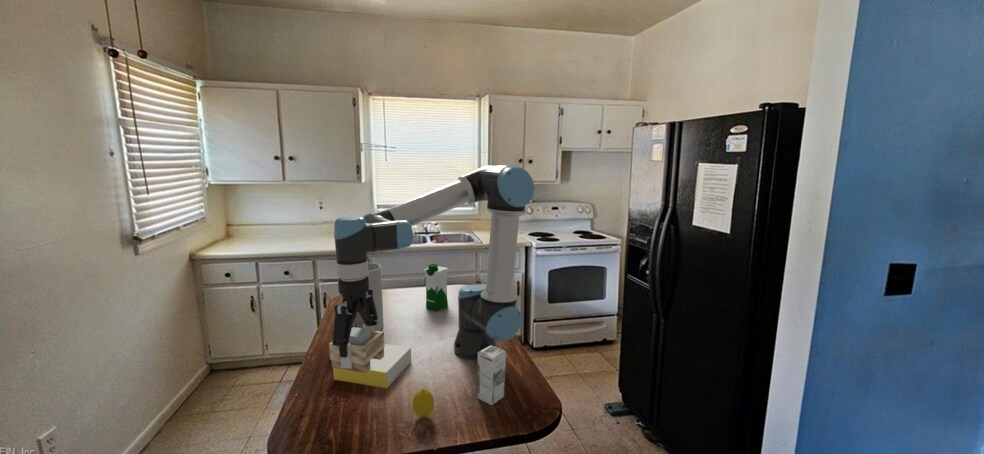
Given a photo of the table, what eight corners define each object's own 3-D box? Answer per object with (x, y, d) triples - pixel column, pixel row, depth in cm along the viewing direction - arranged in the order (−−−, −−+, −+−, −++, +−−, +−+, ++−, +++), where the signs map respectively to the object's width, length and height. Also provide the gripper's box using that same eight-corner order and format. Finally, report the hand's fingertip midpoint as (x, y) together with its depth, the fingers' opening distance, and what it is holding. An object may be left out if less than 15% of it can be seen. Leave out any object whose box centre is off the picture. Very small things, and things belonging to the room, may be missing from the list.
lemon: (435, 410, 113) (434, 383, 112) (433, 423, 108) (432, 395, 106) (414, 410, 113) (413, 383, 112) (411, 424, 108) (410, 395, 106)
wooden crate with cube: (385, 355, 115) (383, 331, 114) (365, 374, 106) (363, 348, 104) (353, 350, 118) (351, 327, 116) (330, 368, 108) (328, 343, 107)
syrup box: (489, 389, 123) (489, 343, 120) (505, 397, 119) (506, 350, 117) (476, 398, 119) (476, 351, 116) (492, 406, 115) (493, 357, 112)
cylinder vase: (346, 327, 166) (342, 266, 161) (376, 319, 173) (373, 261, 168) (356, 338, 156) (353, 273, 151) (388, 330, 163) (385, 268, 159)
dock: (411, 361, 139) (410, 347, 138) (386, 388, 124) (386, 372, 123) (363, 354, 144) (362, 340, 143) (333, 379, 128) (332, 364, 127)
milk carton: (422, 308, 185) (421, 265, 181) (436, 302, 193) (435, 260, 189) (438, 312, 180) (437, 268, 177) (451, 306, 188) (450, 263, 184)
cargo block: (371, 343, 113) (370, 329, 112) (360, 351, 108) (360, 337, 107) (354, 340, 114) (353, 327, 113) (343, 349, 109) (342, 335, 108)
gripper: (364, 264, 119) (368, 337, 123) (311, 290, 97) (318, 377, 102) (388, 266, 117) (391, 340, 121) (339, 293, 96) (345, 381, 100)
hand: (358, 357), depth 111 cm, fingers closed on wooden crate with cube, 10 cm apart
